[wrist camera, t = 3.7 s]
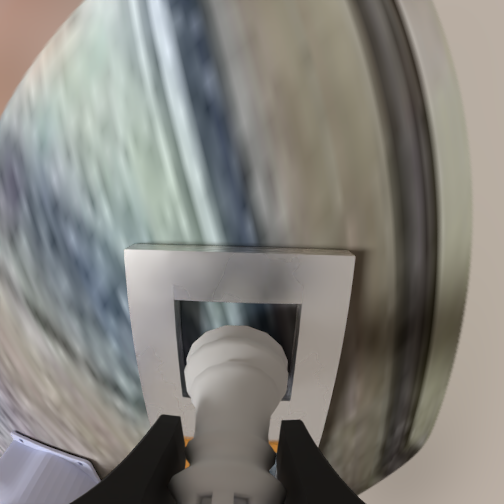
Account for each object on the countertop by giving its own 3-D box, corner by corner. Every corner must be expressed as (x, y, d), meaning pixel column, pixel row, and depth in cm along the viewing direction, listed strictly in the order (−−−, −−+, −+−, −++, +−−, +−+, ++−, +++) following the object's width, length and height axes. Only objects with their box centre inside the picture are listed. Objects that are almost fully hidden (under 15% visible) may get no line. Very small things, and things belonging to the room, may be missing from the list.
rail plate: (174, 488, 18) (172, 500, 17) (133, 243, 14) (122, 250, 12) (298, 492, 18) (300, 505, 17) (346, 250, 14) (356, 257, 12)
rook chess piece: (304, 373, 13) (339, 524, 5) (225, 410, 14) (212, 550, 6) (251, 300, 12) (250, 465, 4) (168, 348, 13) (105, 494, 5)
